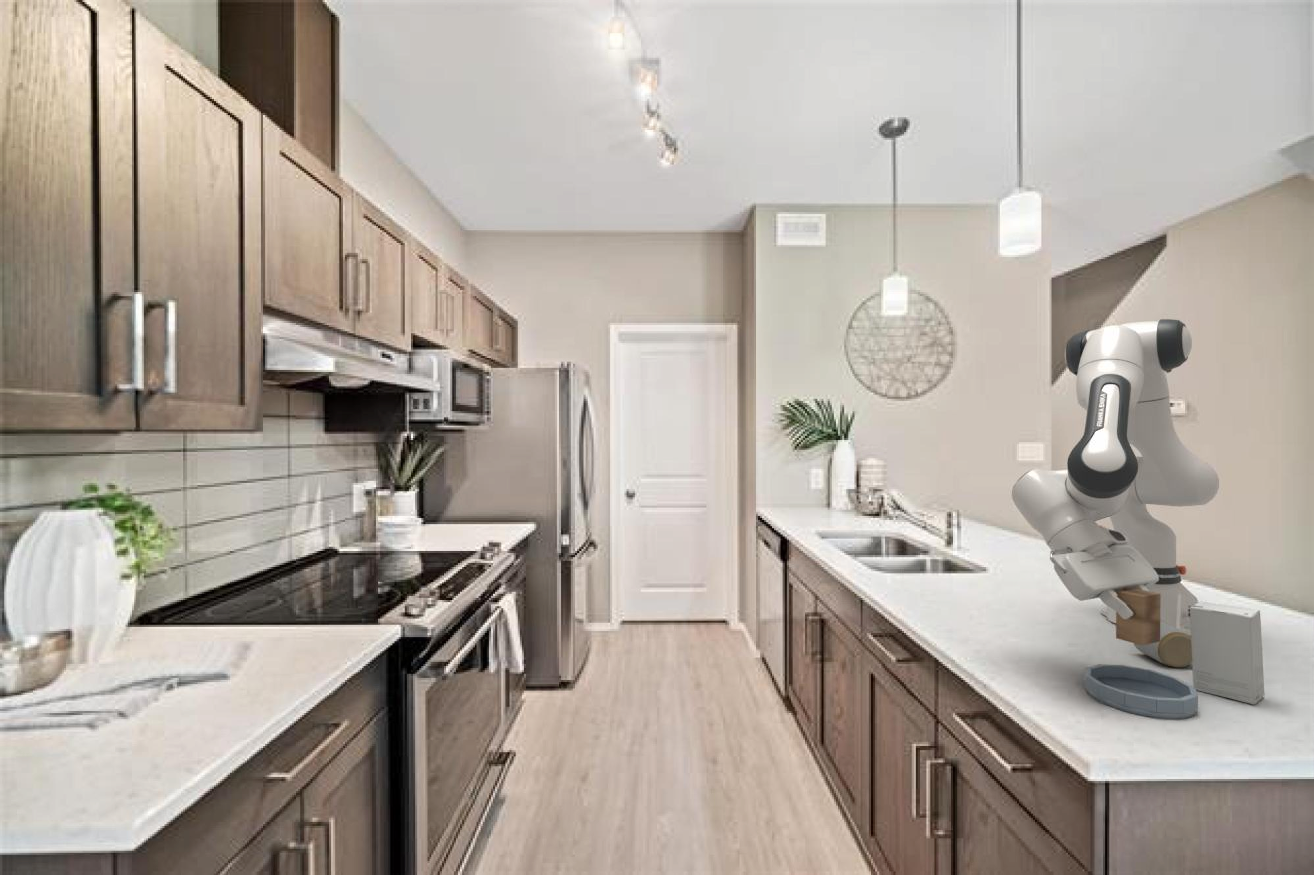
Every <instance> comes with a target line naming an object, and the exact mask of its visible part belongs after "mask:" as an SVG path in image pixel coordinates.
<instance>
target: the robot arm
mask: <svg viewBox="0 0 1314 875" xmlns="http://www.w3.org/2000/svg"><path fill="white" fill-rule="evenodd" d="M1192 348H1193V339H1192V335H1191V333H1190V331H1189V329H1188V328H1187V326H1186V324H1185V323H1183V322H1182V321H1181V320H1180V319H1174V318H1173V319H1171V318H1170V319H1169V318H1165V319H1163V318H1162V319H1160V320H1157V321H1156V320H1150V321H1136V322H1135V321H1134V322H1125V323H1122V324H1116V325H1115V324H1114V325H1113V324H1112V325H1108V326H1107V325H1106V326H1104V327H1101V328H1097V329H1093V330H1083V331H1081V332H1078V333H1075V334H1073V335H1072V336H1071V337H1070V338H1069V339H1068V340H1067V342H1066V346H1065V349H1064V360H1065V364H1066V365H1067V368H1068V370H1069V372H1070V373H1072V374H1073V375H1074V376H1076V382H1075V384H1076V389H1075V390H1076V396H1077V398H1076V400H1077V404H1079V406H1080V407H1082V409H1084V410H1086V411H1087V412H1086V416H1085V417H1086V418H1085V424H1084V425H1085V426H1084V431H1083V436H1082V437H1081V438H1080V440H1079V441H1078V442H1077V444H1075V446H1074V447H1073V448H1072V450H1071V451H1070V453H1069V455H1068V458H1067V462H1066V463H1067V469H1062V470H1058V469H1057V470H1046V469H1042V468H1034V469H1031V470H1029V471H1027V472H1026V473H1024V474H1023V475H1022V476H1021V477H1019V479H1017V481H1016V483H1015V484H1014V485H1013V487H1012V492H1011V500H1012V501H1013V503H1014V506H1016V508H1017V510H1018V511H1019V512H1020V514H1021V515H1022V516H1023V518H1024V519H1025V521H1026V522H1027V523H1028V524H1029V525H1030V526H1031V528H1033V530H1035V531H1036V532H1038V533H1039V534H1040V535H1041V536H1042V538H1043V540H1044V542H1045V544H1046V545H1047V547H1049V549H1050V554H1049V561H1051V563H1052V564H1053V570H1054V572H1055V574H1056V575H1057V576H1058V578H1059V579H1060V581H1061V582H1062V584H1063V585H1064V587H1065V588H1066V590H1067V591H1068V592H1069V594H1071V596H1073V597H1074V598H1075V599H1077V600H1078V601H1081V602H1083V601H1088V600H1089V601H1090V600H1094V599H1100V600H1101V602H1103V604H1105V608H1101V610H1100V614H1101V615H1103V616H1105V617H1106V619H1107V620H1108V621H1109V622H1111V623H1114V624H1116V611H1117V612H1118V614H1119V615H1120V616H1121V617H1122V618H1123V619H1129V618H1132V617H1133V616H1135V615H1136V611H1135V610H1134V609H1133V608H1132V607H1131V605H1130V604H1128V605H1126V604H1125V603H1124V602H1123V601H1122V600H1120V599H1119V598H1118V597H1117V596H1118V595H1117V594H1116V591H1120V590H1126V589H1132V588H1136V589H1141V590H1145V591H1150V592H1155V593H1160V594H1161V607H1160V619H1161V620H1163V621H1165V622H1167V623H1168V624H1170V625H1172V626H1174V627H1176V628H1177V629H1180V630H1181V631H1183V632H1185V633H1186V634H1187V635H1189V636H1190V637H1191V624H1190V607H1192V606H1193V605H1195V604H1197V603H1199V600H1198V598H1197V596H1196V595H1194V594H1193V593H1192V592H1191V591H1190V590H1189V589H1188V588H1187V587H1186V586H1185V585H1183V583H1181V582H1182V575H1183V576H1185V575H1186V573H1187V567H1186V566H1185V565H1178V564H1177V535H1176V533H1175V532H1174V530H1173V528H1171V527H1170V526H1169V525H1168V524H1166V523H1164V522H1162V521H1160V520H1158V519H1156V518H1154V516H1152V515H1151V514H1150V511H1148V508H1147V505H1155V506H1167V507H1169V506H1170V507H1193V506H1194V507H1195V506H1204V505H1205V506H1206V505H1207V504H1208V503H1209V502H1211V501H1212V500H1213V499H1214V498H1215V497H1216V495H1217V493H1218V491H1219V489H1220V478H1219V476H1218V475H1219V474H1218V473H1217V471H1216V470H1215V469H1214V467H1213V466H1211V464H1209V463H1208V462H1207V461H1205V460H1203V459H1201V458H1199V457H1198V456H1196V455H1195V454H1194V453H1192V452H1191V451H1190V450H1189V449H1188V448H1187V447H1186V446H1185V445H1184V444H1183V442H1182V441H1181V439H1180V437H1179V436H1178V434H1177V433H1176V429H1175V425H1174V423H1173V417H1172V410H1171V401H1170V400H1171V399H1170V390H1169V384H1168V379H1167V375H1166V374H1168V373H1171V372H1172V371H1173V370H1174V369H1177V368H1178V367H1181V366H1182V365H1183V364H1184V363H1185V362H1187V361H1188V359H1189V355H1190V353H1191V351H1192ZM1132 447H1134V448H1135V449H1136V450H1137V451H1138V452H1139V453H1140V456H1136V455H1135V452H1134V450H1133V448H1132ZM1106 518H1109V519H1110V521H1111V524H1112V527H1113V529H1110V528H1107V527H1105V526H1103V525H1099V524H1098V523H1097V521H1100V520H1102V519H1106Z"/></svg>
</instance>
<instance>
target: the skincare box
mask: <svg viewBox="0 0 1314 875" xmlns="http://www.w3.org/2000/svg"><path fill="white" fill-rule="evenodd" d="M1190 624H1191V636H1190V637H1191V645H1192V662H1191V664H1192V684H1193V685H1192V686H1193V687H1195V689H1196V691H1197V692H1198V691H1199V692H1203V693H1206V694H1211V695H1215V696H1219V697H1224V698H1227V699H1231V700H1235V701H1239V702H1242V703H1246V704H1250V705H1256V704H1257V703H1258V702H1260V701H1261V700H1263V698H1264V696H1265V676H1264V674H1265V673H1264V660H1263V658H1264V657H1263V642H1262V641H1263V640H1262V638H1263V637H1262V621H1261V610H1260V609H1254V608H1247V607H1240V606H1233V605H1225V604H1220V603H1214V602H1213V603H1212V602H1206V601H1202V600H1201V601H1198V603H1197V604H1195V605H1193V606H1192V607H1190Z"/></svg>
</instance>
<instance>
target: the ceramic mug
mask: <svg viewBox="0 0 1314 875" xmlns="http://www.w3.org/2000/svg"><path fill="white" fill-rule="evenodd" d="M1132 645H1134V647H1135V648H1136V649H1137V650H1138V651H1139V652H1141V653H1142V654H1144V655H1146V656H1147V657H1149V658H1151V659H1153V660H1156V661H1157V662H1160V663H1161V664H1163V665H1165V666H1169V667H1171V668H1183V667H1187V666H1189V665H1191V664H1192V645H1191V636H1189V635H1187V634H1186V633H1185V632H1183V631H1181V630H1180V629H1177V628H1176V627H1174V626H1172V625H1170V624H1168V623H1167V622H1165V621H1163V620H1161V619H1160V642H1156V643H1151V644H1147V645H1143V646H1142V645H1139V644H1135V643H1133V644H1132Z"/></svg>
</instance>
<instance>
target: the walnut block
mask: <svg viewBox="0 0 1314 875" xmlns="http://www.w3.org/2000/svg"><path fill="white" fill-rule="evenodd" d="M1116 594H1117V595H1118V596H1117V597H1118V598H1119V599H1120V600H1122V601H1123V602H1124V603H1125V604H1126V605H1128V604H1130V605H1131V607H1132V608H1133V609H1134V610H1135V611H1136V615H1135V616H1133V617H1132V618H1129V619H1123V618H1122V617H1121V616H1120V615H1119V614H1118V612H1117V611H1116V623H1115V638H1116V639H1117V640H1120V641H1125V642H1129V643H1131V644H1132V643H1135V644H1139V645H1142V646H1143V645H1147V644H1151V643H1156V642H1160V607H1161V594H1160V593H1155V592H1150V591H1145V590H1141V589H1136V588H1132V589H1126V590H1120V591H1116Z"/></svg>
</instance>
